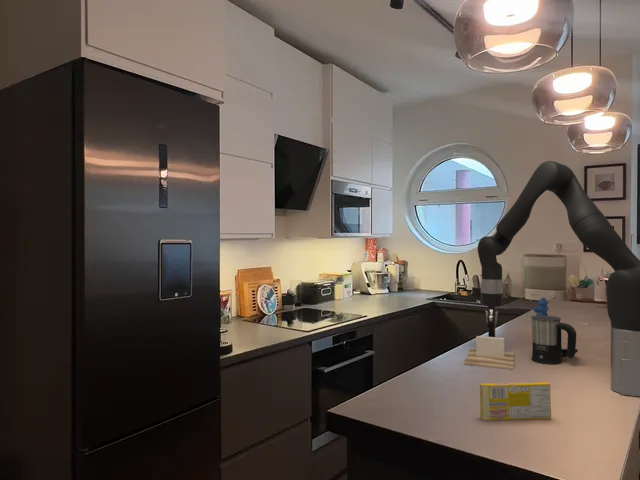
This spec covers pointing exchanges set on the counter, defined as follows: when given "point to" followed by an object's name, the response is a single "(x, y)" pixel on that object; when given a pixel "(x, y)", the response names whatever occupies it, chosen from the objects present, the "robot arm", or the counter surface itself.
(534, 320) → the milk frother
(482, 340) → the card box
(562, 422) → the counter surface
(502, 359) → the mat
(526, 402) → the candy box
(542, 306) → the grapes
